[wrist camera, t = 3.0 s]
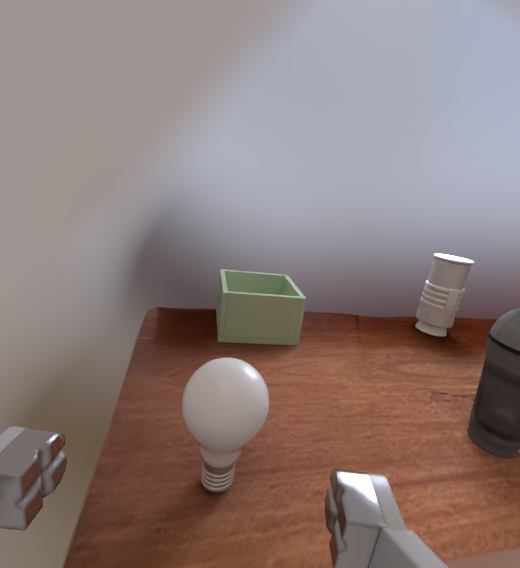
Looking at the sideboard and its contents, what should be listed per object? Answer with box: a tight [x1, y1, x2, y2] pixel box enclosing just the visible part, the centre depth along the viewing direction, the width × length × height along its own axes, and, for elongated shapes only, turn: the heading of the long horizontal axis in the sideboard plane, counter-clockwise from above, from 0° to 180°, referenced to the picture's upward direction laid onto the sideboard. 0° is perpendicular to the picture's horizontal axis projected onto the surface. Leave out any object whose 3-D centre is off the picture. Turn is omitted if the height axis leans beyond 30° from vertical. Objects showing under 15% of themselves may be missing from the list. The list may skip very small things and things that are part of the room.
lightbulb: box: [182, 357, 269, 492], centre depth 24 cm, size 6×6×11 cm
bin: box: [216, 269, 306, 346], centre depth 54 cm, size 13×13×8 cm
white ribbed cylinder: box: [415, 254, 474, 336], centre depth 62 cm, size 7×7×15 cm
